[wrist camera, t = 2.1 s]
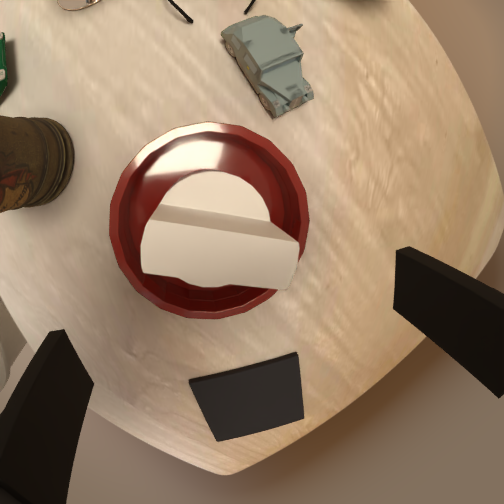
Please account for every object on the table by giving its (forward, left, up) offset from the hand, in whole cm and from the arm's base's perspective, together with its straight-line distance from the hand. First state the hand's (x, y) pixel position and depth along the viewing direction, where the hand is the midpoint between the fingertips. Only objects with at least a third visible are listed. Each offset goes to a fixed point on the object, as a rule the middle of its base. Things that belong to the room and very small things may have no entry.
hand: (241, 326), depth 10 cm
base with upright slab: (0, 0, -19) cm, 19 cm away
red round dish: (0, 0, -19) cm, 19 cm away
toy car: (+9, +14, -19) cm, 26 cm away
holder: (0, -26, -19) cm, 32 cm away
